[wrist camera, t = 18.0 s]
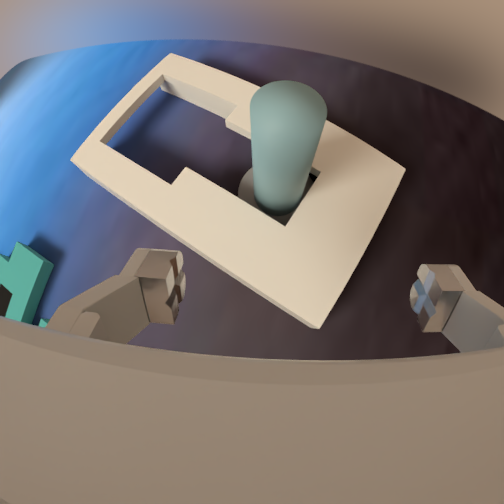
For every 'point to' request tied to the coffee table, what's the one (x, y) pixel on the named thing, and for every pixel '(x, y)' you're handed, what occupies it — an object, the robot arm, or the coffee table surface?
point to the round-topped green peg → (282, 147)
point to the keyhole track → (244, 215)
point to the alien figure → (23, 283)
